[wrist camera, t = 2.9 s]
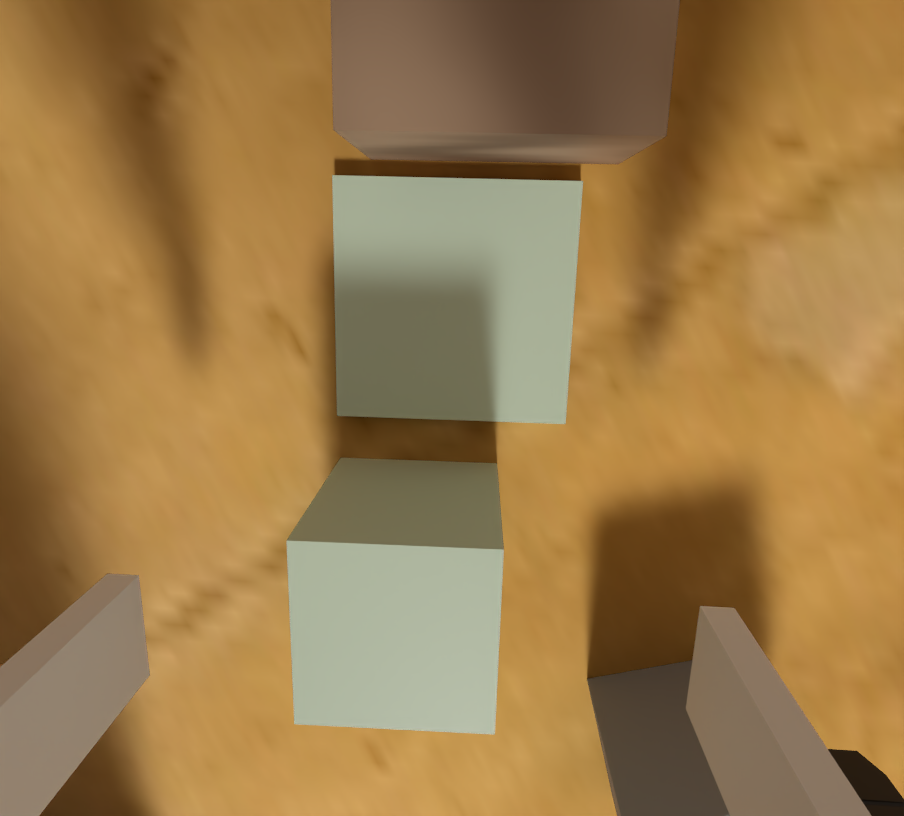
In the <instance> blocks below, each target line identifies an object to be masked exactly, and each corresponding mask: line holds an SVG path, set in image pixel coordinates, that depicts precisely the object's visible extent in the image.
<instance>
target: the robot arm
mask: <svg viewBox="0 0 904 816" xmlns="http://www.w3.org/2000/svg"><path fill="white" fill-rule="evenodd" d="M149 675H150V673H149V664H148V655H147V646H146V637H145V628H144V619H143V610H142V601H141V591H140V582H139V575H123V574H106V575H105V576H104V577H103V578H102V579H101V580H100V581H98V582H97V583H96V584H95V585H94V586H93V587H92V588H90V589H89V590H88V591H87V592H86V593H85V594H83V595H82V596H81V597H80V598H79V599H78V600H77V601H75V602H74V603H73V604H72V605H71V606H70V607H69V608H67V609H66V610H65V611H64V612H63V613H62V614H60V615H59V616H58V617H57V618H56V619H55V620H54V621H52V622H51V623H50V624H49V625H48V626H47V627H46V628H44V629H43V630H42V631H41V632H40V633H39V634H37V635H36V636H35V637H34V638H33V639H32V640H31V641H29V642H28V643H27V644H26V645H25V646H24V647H23V648H21V649H20V650H19V651H18V652H17V653H16V654H14V655H13V656H12V657H11V658H10V659H9V660H8V661H6V662H5V663H4V664H3V665H2V666H1V667H0V816H39V815H40V814H41V813H42V812H43V810H44V809H45V808H46V806H47V805H48V804H49V803H50V801H51V800H52V799H53V798H54V796H55V795H56V794H57V792H58V791H59V790H60V789H61V787H62V786H63V785H64V784H65V782H66V781H67V780H68V778H69V777H70V776H71V775H72V773H73V772H74V771H75V770H76V768H77V767H78V766H79V764H80V763H81V762H82V761H83V759H84V758H85V757H86V756H87V754H88V753H89V752H90V750H91V749H92V748H93V747H94V745H95V744H96V743H97V742H98V740H99V739H100V738H101V736H102V735H103V734H104V733H105V731H106V730H107V729H108V727H109V726H110V725H111V724H112V722H113V721H114V720H115V719H116V717H117V716H118V715H119V713H120V712H121V711H122V710H123V708H124V707H125V706H126V705H127V703H128V702H129V701H130V699H131V698H132V697H133V696H134V694H135V693H136V692H137V691H138V689H139V688H140V687H141V685H142V684H143V683H144V682H145V680H146V679H147V678H148V677H149ZM686 711H687V713H688V715H689V718H690V720H691V723H692V725H693V727H694V730H695V732H696V735H697V737H698V740H699V742H700V744H701V747H702V749H703V752H704V754H705V756H706V759H707V761H708V764H709V766H710V769H711V771H712V773H713V776H714V778H715V781H716V783H717V785H718V788H719V790H720V793H721V795H722V798H723V800H724V802H725V805H726V807H727V810H728V812H729V814H730V816H904V799H903V798H902V796H901V795H900V793H899V792H898V791H897V789H896V788H895V787H894V785H893V784H892V783H891V781H890V780H889V779H888V777H887V776H886V775H885V774H884V773H883V772H882V771H880V770H879V769H878V768H877V767H876V766H874V765H873V764H872V763H871V762H870V761H868V760H867V759H866V758H865V757H863V756H862V755H861V754H860V753H859V752H857V751H848V750H833V749H827V748H826V746H825V744H824V743H823V741H822V740H821V738H820V737H819V735H818V734H817V732H816V731H815V729H814V728H813V726H812V725H811V723H810V722H809V720H808V719H807V717H806V716H805V714H804V713H803V711H802V710H801V708H800V707H799V705H798V704H797V702H796V701H795V699H794V697H793V696H792V694H791V693H790V691H789V690H788V688H787V687H786V685H785V684H784V682H783V681H782V679H781V678H780V676H779V675H778V673H777V672H776V670H775V669H774V667H773V666H772V664H771V663H770V661H769V660H768V658H767V657H766V655H765V653H764V652H763V650H762V649H761V647H760V646H759V644H758V643H757V641H756V640H755V638H754V637H753V635H752V634H751V632H750V631H749V629H748V628H747V626H746V625H745V623H744V622H743V620H742V619H741V617H740V616H739V614H738V613H737V611H736V610H735V608H729V607H711V606H700V610H699V617H698V624H697V631H696V638H695V645H694V653H693V660H692V667H691V674H690V681H689V688H688V696H687V703H686Z"/></svg>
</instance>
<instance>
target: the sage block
mask: <svg viewBox="0 0 904 816" xmlns="http://www.w3.org/2000/svg"><path fill="white" fill-rule="evenodd" d="M503 555H504V546H503V533H502V520H501V508H500V495H499V482H498V469H497V463H477V462H449V461H422V460H394V459H367V458H340V459H339V461H338V463H337V464H336V466H335V467H334V469H333V470H332V472H331V473H330V475H329V476H328V478H327V479H326V481H325V482H324V484H323V486H322V487H321V489H320V490H319V492H318V493H317V495H316V496H315V498H314V499H313V501H312V502H311V504H310V505H309V507H308V508H307V510H306V512H305V513H304V515H303V516H302V518H301V519H300V521H299V522H298V524H297V525H296V527H295V528H294V530H293V531H292V533H291V535H290V536H289V538H288V539H287V563H288V586H289V609H290V632H291V655H292V679H293V702H294V724H302V725H321V726H340V727H360V728H379V729H398V730H418V731H437V732H457V733H476V734H495V720H496V700H497V679H498V658H499V638H500V617H501V597H502V576H503Z"/></svg>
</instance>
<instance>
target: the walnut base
mask: <svg viewBox="0 0 904 816" xmlns="http://www.w3.org/2000/svg"><path fill="white" fill-rule="evenodd" d="M679 5H680V0H331V36H332V84H333V130H334V131H335V132H337V133H338V134H339V135H340V136H342V137H343V138H344V139H346V140H347V141H348V142H349V143H351V144H352V145H353V146H354V147H356V148H357V149H358V150H360V151H361V152H362V153H363V154H365V155H366V156H367V157H368V158H370V159H381V160H431V161H482V162H532V163H583V164H619V163H621V162H623V161H624V160H626V159H628V158H630V157H631V156H633V155H635V154H636V153H638V152H640V151H642V150H643V149H645V148H647V147H649V146H650V145H652V144H654V143H655V142H657V141H659V140H661V139H662V138H664V137H666V136H667V127H668V117H669V106H670V96H671V86H672V76H673V66H674V56H675V46H676V36H677V26H678V15H679Z"/></svg>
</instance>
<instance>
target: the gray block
mask: <svg viewBox="0 0 904 816" xmlns="http://www.w3.org/2000/svg"><path fill="white" fill-rule="evenodd" d="M691 667H692V660H691V661H685V662H679V663H674V664H668V665H662V666H657V667H651V668H646V669H640V670H634V671H629V672H623V673H617V674H612V675H606V676H600V677H595V678H589V679H587V681H588V685H589V690H590V695H591V699H592V704H593V708H594V713H595V718H596V722H597V727H598V731H599V736H600V741H601V745H602V750H603V754H604V759H605V764H606V768H607V773H608V777H609V782H610V787H611V791H612V796H613V800H614V804H615V808H616V812H617V816H730V814H729V812H728V810H727V807H726V805H725V802H724V800H723V798H722V795H721V793H720V790H719V788H718V785H717V783H716V781H715V778H714V776H713V773H712V771H711V769H710V766H709V764H708V761H707V759H706V756H705V754H704V752H703V749H702V747H701V744H700V742H699V740H698V737H697V735H696V732H695V730H694V727H693V725H692V723H691V720H690V718H689V715H688V713H687V711H686V703H687V696H688V688H689V681H690V674H691Z"/></svg>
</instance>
